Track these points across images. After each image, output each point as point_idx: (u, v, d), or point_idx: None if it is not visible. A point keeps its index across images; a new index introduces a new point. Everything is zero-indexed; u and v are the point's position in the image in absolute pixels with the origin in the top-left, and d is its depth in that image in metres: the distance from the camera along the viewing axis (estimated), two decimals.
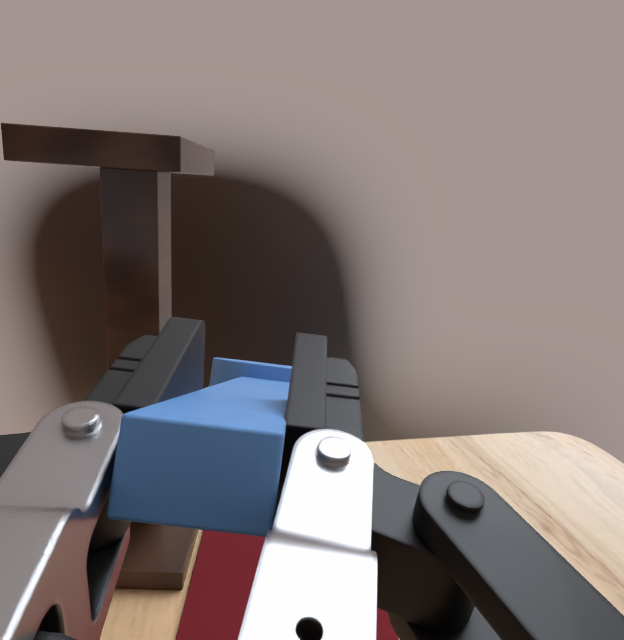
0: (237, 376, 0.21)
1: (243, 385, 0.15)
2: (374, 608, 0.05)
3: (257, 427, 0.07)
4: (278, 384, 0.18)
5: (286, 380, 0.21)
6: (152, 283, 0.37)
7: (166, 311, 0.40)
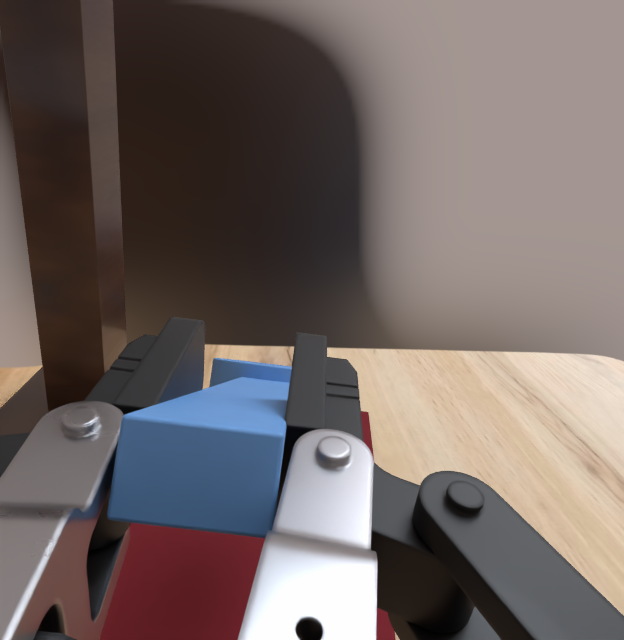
0: (237, 376, 0.21)
1: (243, 385, 0.15)
2: (374, 607, 0.05)
3: (258, 428, 0.07)
4: (278, 384, 0.18)
5: (286, 380, 0.21)
6: (77, 86, 0.25)
7: (107, 139, 0.28)
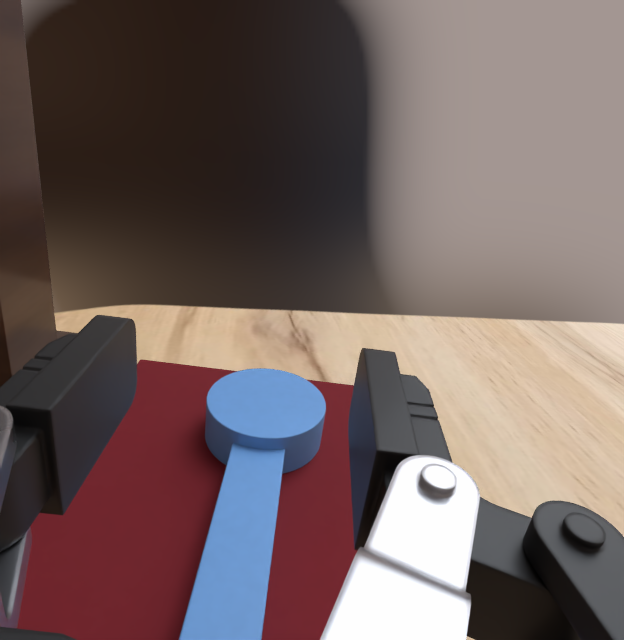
0: (229, 441, 0.21)
1: (222, 567, 0.15)
2: None
3: None
4: (265, 498, 0.18)
5: (279, 447, 0.21)
6: None
7: None
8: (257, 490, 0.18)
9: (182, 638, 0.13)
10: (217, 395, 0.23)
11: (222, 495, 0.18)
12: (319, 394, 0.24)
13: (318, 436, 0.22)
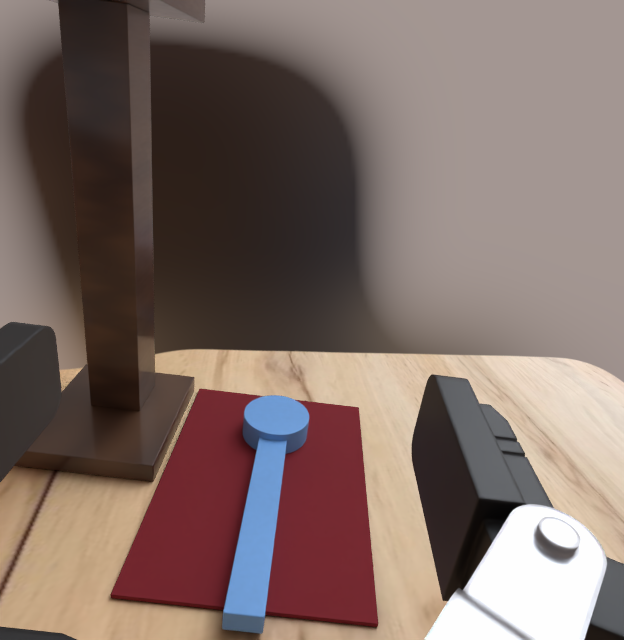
0: (257, 436, 0.39)
1: (258, 492, 0.34)
2: None
3: (257, 613, 0.26)
4: (277, 464, 0.37)
5: (283, 439, 0.39)
6: (124, 148, 0.32)
7: (144, 185, 0.35)
8: (273, 460, 0.37)
9: (244, 517, 0.32)
10: (249, 411, 0.41)
11: (256, 462, 0.37)
12: (305, 410, 0.42)
13: (304, 434, 0.41)
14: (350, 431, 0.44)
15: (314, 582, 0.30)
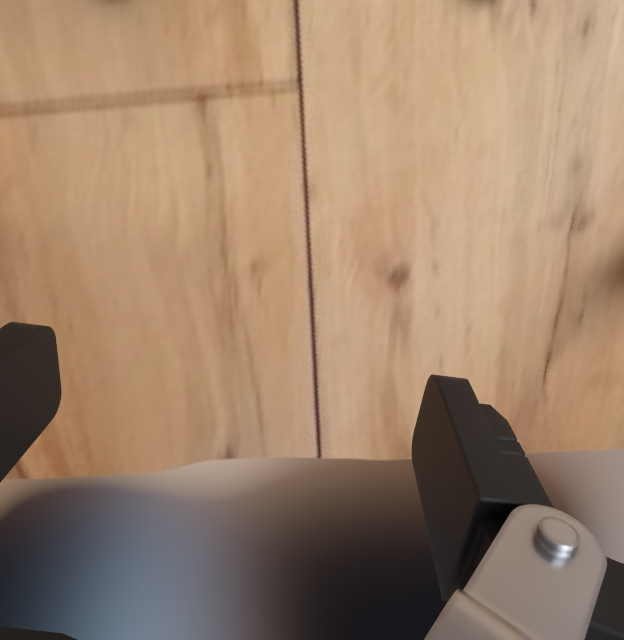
0: None
1: None
2: None
3: None
4: None
5: None
6: None
7: None
8: None
9: None
10: None
11: None
12: None
13: None
14: None
15: None
